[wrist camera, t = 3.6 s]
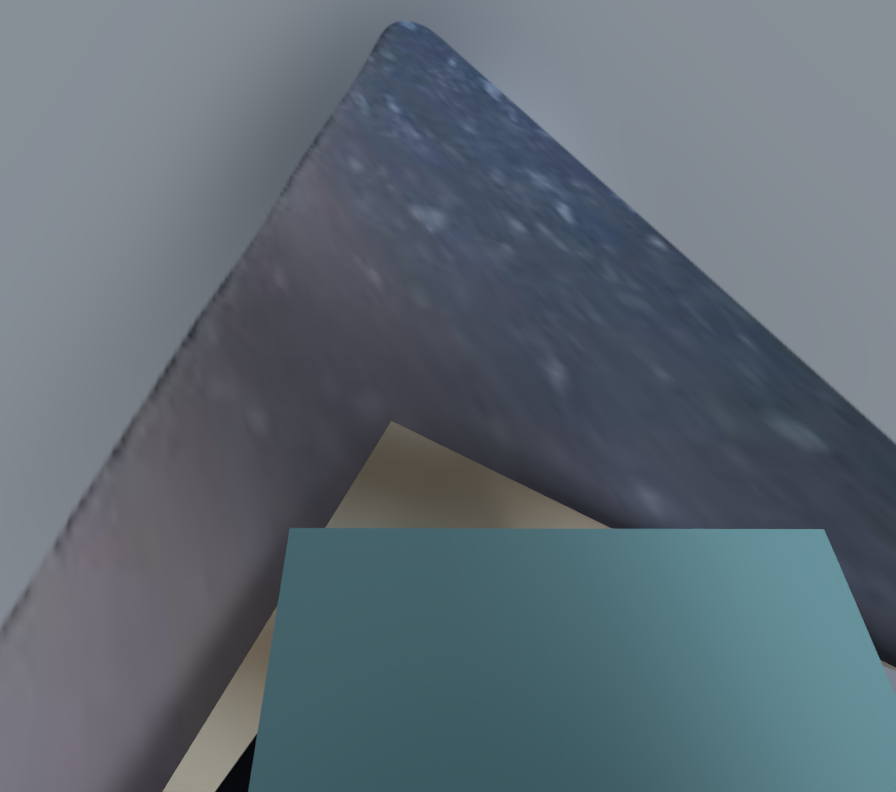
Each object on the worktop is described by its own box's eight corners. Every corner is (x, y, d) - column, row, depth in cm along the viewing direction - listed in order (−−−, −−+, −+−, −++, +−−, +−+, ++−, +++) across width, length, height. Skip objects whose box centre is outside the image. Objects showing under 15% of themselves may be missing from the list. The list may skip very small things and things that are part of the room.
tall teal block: (554, 815, 11) (1378, 1814, 2) (352, 828, 11) (3, 2339, 1) (532, 595, 14) (824, 529, 4) (367, 597, 13) (289, 528, 4)
